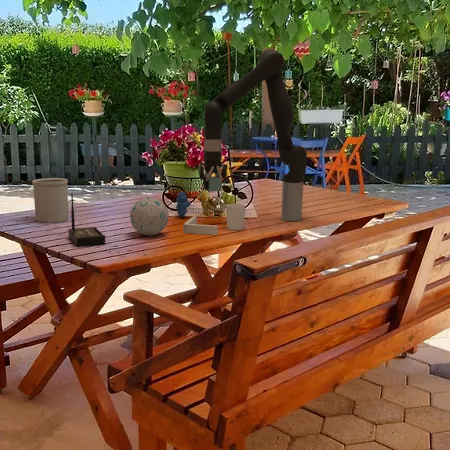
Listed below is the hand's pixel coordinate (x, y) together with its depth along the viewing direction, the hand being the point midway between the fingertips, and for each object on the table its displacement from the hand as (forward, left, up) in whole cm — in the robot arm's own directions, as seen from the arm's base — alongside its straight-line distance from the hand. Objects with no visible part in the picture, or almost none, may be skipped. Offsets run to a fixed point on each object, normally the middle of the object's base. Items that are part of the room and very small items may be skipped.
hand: (212, 188), depth 267 cm
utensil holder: (+13, -69, -15) cm, 72 cm away
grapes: (-8, -15, -15) cm, 23 cm away
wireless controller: (+43, -40, -16) cm, 61 cm away
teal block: (0, 0, -1) cm, 1 cm away
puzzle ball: (+29, -19, -15) cm, 38 cm away
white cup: (+10, +12, -15) cm, 21 cm away
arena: (+14, 0, -15) cm, 21 cm away
